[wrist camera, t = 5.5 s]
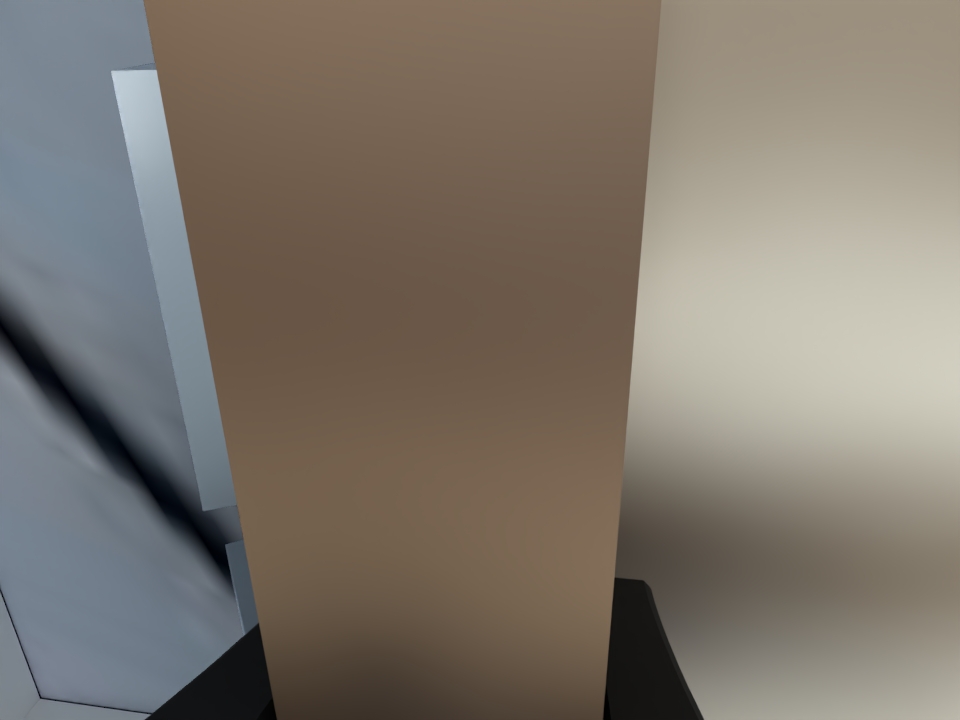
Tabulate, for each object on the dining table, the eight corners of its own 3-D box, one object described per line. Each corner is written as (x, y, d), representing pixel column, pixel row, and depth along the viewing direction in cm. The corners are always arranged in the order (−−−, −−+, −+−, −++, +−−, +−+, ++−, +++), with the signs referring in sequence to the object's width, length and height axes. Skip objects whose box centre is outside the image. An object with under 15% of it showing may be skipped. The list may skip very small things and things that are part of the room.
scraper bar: (574, 883, 14) (561, 1219, 10) (429, 859, 15) (361, 1171, 11) (636, -19, 8) (668, -83, 4) (369, -13, 8) (132, -61, 4)
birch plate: (1032, 870, 16) (1117, 1037, 13) (469, 786, 18) (445, 916, 15) (1577, -234, 8) (2078, -375, 5) (441, -165, 10) (379, -242, 7)
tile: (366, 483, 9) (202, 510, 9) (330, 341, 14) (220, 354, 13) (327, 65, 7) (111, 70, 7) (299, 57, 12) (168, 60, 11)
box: (469, 786, 18) (435, 972, 15) (18, 719, 20) (-111, 867, 17) (441, -165, 10) (347, -281, 6) (-315, -119, 12) (-715, -189, 8)
